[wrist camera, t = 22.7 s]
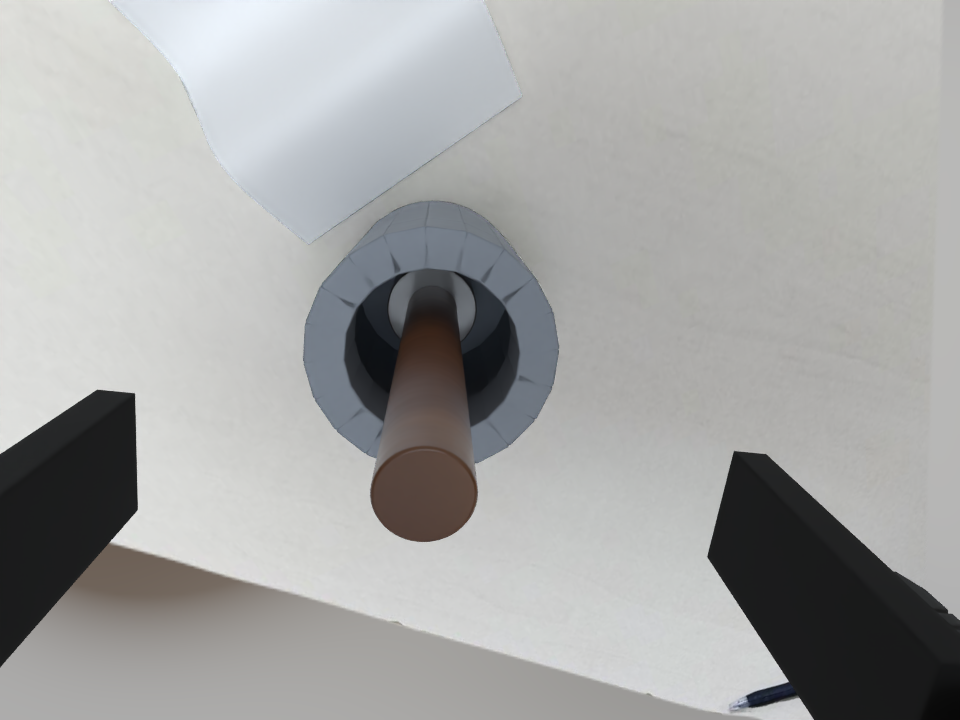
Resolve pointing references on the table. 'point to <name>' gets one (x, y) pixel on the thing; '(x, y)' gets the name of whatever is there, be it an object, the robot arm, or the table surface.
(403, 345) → the brown and grey rod
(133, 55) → the table surface
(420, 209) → the grey cylindrical holder
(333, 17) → the file organizer
